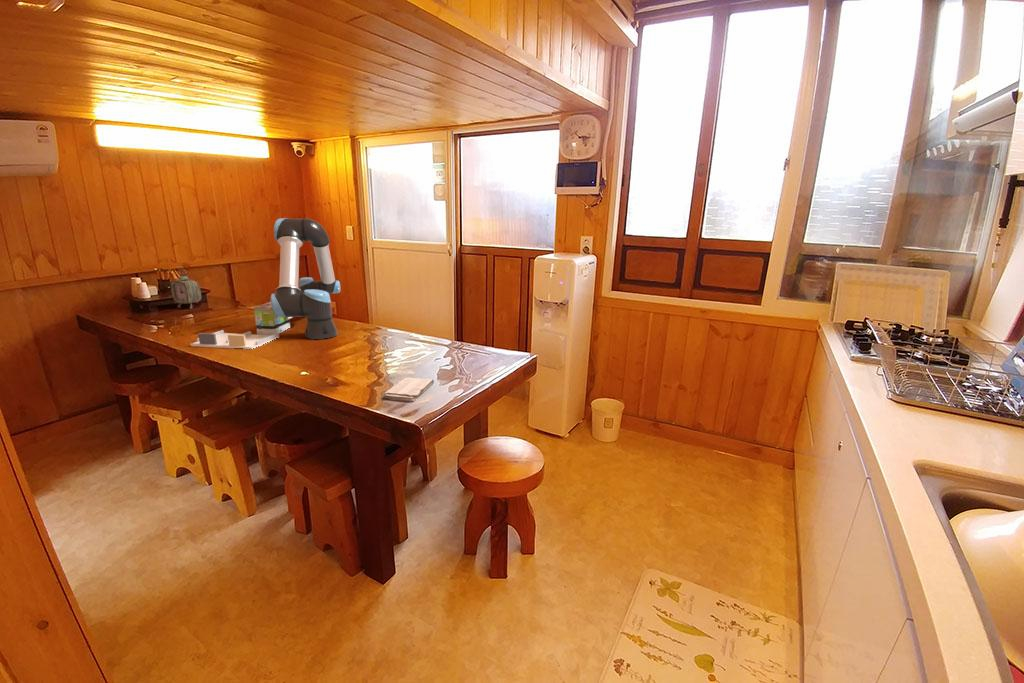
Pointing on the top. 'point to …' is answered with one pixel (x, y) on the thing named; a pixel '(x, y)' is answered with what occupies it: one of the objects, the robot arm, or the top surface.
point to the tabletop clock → (185, 290)
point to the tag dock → (232, 340)
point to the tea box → (269, 320)
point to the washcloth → (409, 389)
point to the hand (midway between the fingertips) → (275, 315)
